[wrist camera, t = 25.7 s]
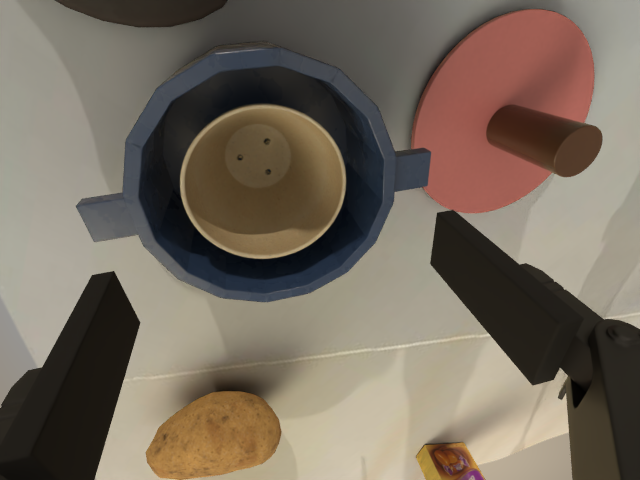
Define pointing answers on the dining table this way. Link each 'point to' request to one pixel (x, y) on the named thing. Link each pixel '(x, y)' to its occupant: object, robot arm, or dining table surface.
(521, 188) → the lid
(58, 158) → the dining table surface
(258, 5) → the dining table surface
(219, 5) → the casserole
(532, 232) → the dining table surface
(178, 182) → the pot
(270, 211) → the flower pot
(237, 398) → the potato
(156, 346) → the dining table surface
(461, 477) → the candy box
